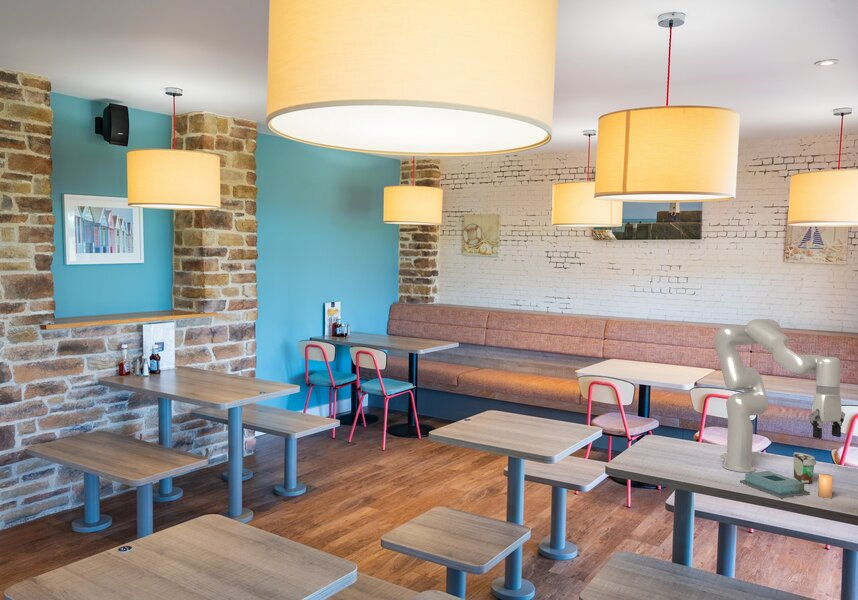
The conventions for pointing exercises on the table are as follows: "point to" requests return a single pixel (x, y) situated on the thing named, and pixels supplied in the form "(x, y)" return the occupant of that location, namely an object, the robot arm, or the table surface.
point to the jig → (775, 484)
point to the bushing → (825, 486)
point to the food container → (803, 467)
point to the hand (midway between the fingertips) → (826, 437)
